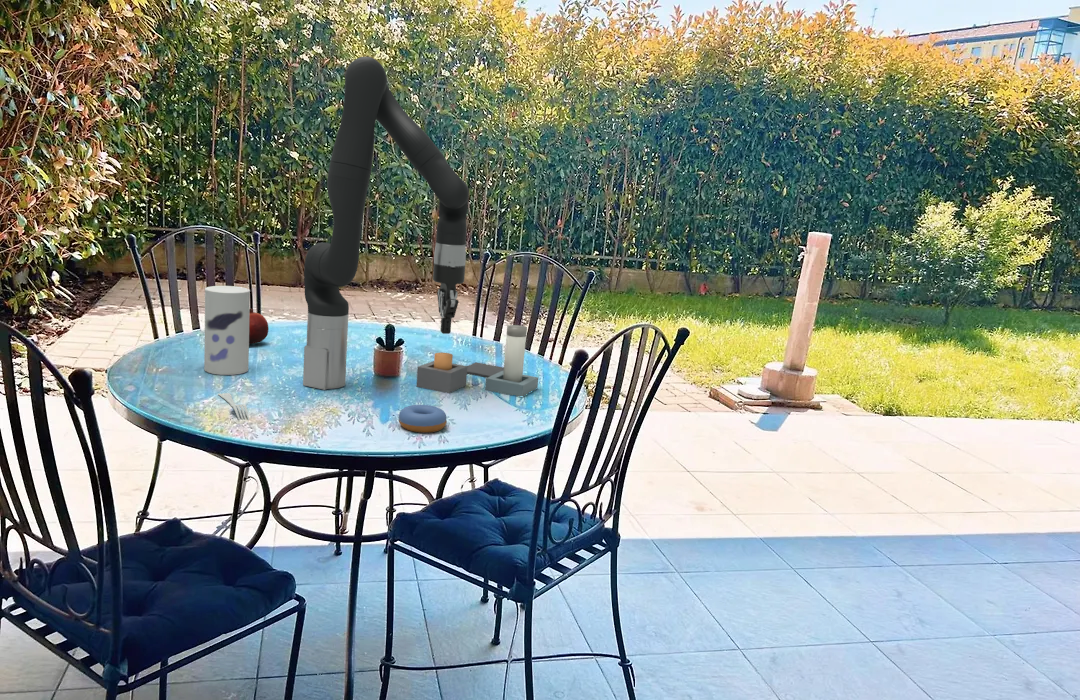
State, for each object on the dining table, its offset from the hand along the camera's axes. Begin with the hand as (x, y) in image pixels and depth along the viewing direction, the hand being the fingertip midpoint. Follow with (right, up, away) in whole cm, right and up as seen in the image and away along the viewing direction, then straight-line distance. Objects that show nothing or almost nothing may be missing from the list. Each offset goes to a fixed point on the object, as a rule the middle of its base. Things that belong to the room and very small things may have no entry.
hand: (445, 333), depth 204 cm
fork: (-41, -17, -28) cm, 53 cm away
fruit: (-58, -3, +26) cm, 63 cm away
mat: (+8, -10, +21) cm, 25 cm away
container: (-53, -9, -2) cm, 54 cm away
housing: (+16, -14, +6) cm, 22 cm away
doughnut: (-2, -20, -30) cm, 36 cm away
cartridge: (+16, -14, +6) cm, 22 cm away
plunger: (-1, -11, +2) cm, 11 cm away
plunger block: (-1, -13, +2) cm, 13 cm away
